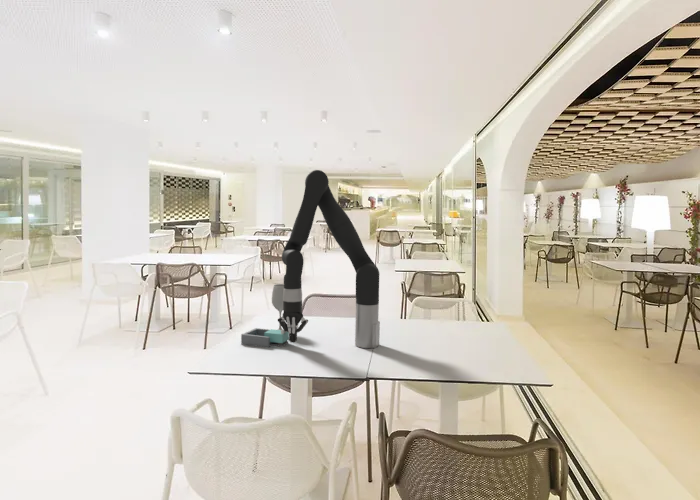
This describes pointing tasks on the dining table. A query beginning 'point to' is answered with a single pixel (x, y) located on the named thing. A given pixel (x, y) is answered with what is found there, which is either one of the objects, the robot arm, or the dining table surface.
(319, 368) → the dining table surface
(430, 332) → the dining table surface
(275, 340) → the teal box with handle
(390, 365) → the dining table surface
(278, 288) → the wineglass
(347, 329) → the dining table surface
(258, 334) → the bay
